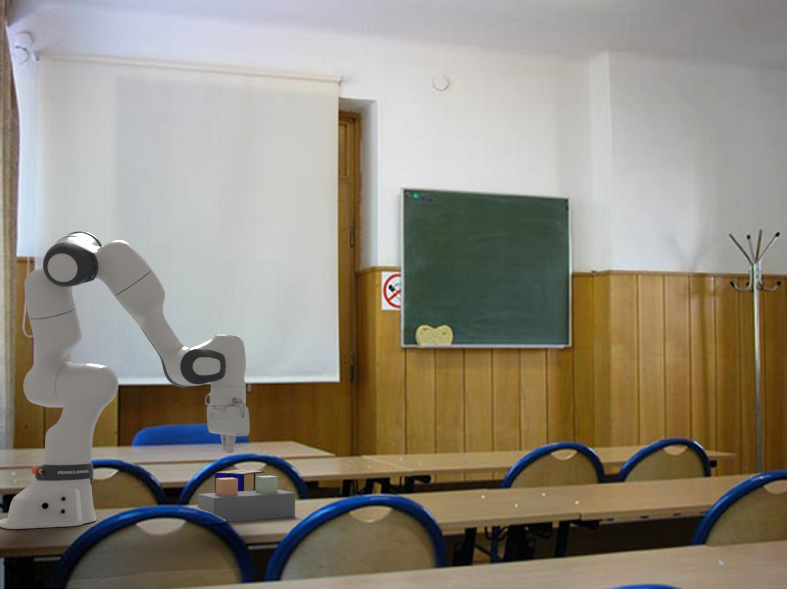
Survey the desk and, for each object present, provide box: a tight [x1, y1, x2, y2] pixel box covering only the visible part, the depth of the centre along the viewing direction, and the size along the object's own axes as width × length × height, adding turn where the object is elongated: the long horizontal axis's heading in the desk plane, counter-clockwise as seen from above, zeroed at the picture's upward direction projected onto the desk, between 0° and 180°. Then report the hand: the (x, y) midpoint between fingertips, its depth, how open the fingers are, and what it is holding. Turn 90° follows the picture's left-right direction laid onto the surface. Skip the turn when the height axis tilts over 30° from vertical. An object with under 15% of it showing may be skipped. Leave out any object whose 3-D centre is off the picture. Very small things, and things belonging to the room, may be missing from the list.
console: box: [197, 489, 296, 523], centre depth 238 cm, size 22×11×6 cm, turn 122°
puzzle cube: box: [214, 469, 266, 493], centre depth 257 cm, size 10×10×10 cm
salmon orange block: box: [216, 478, 238, 496], centre depth 236 cm, size 4×4×6 cm
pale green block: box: [256, 475, 279, 494], centre depth 241 cm, size 4×4×6 cm
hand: (228, 452), depth 236 cm, fingers closed
